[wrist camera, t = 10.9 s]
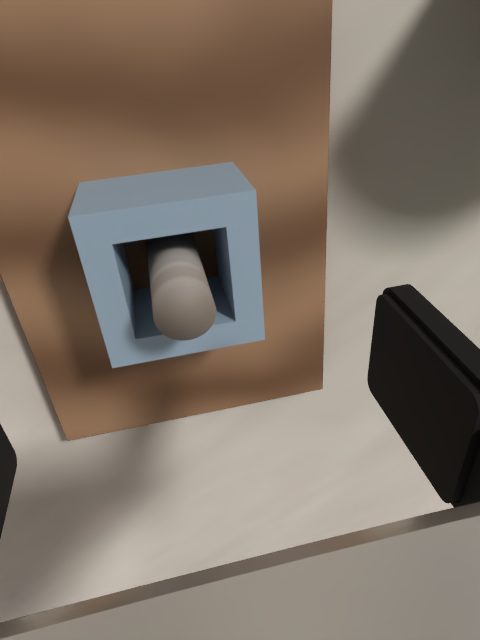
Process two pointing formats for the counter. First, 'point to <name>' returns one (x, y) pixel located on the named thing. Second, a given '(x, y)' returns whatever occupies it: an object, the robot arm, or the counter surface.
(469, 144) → the counter surface
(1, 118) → the shaft stand
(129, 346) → the collar
